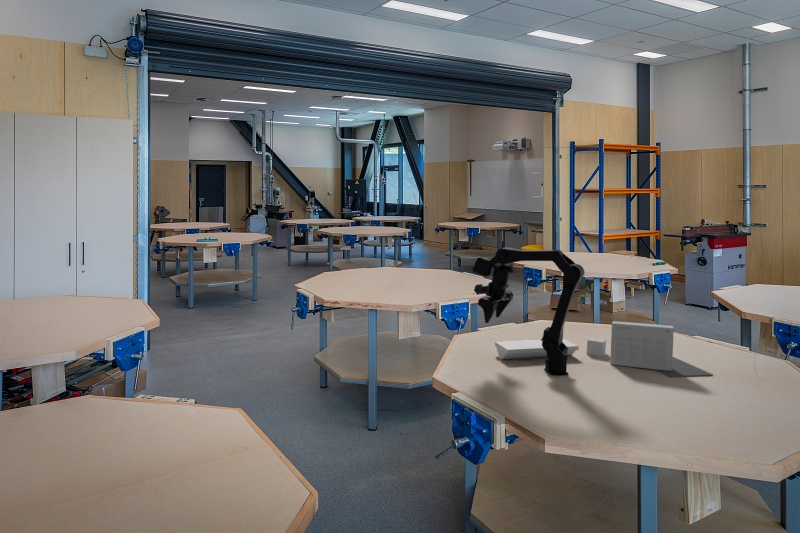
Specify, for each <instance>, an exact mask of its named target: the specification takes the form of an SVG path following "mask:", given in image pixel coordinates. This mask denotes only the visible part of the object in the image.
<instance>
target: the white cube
mask: <svg viewBox="0 0 800 533" xmlns="http://www.w3.org/2000/svg"><path fill="white" fill-rule="evenodd" d="M586 343H587V344H586V355H588V356H592V357H593V356H594V357H600V358H602V357H604V355H605V354H606V348H607V339H606V338H601V337H600V338H599V337H593V336H591V337H589V338H588V339H587V342H586Z"/></svg>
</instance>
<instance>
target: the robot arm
mask: <svg viewBox="0 0 800 533" xmlns="http://www.w3.org/2000/svg"><path fill="white" fill-rule="evenodd" d="M518 262H553V263H554V264H555V266H556V267H557V269H558V270H559V271H560V272H562V273H563V276H562V289H561V293H560V296H559V300H558V302H557V303H558V304H557V306H556V309H555V312H554V315H553V320H552V323H551V325H550V326H548V327H546V328H545V329H544V330H543V334H542V337H541V339H540V340H541V341H542V347H543V348H544V350H545V351H546V353H547V357H546V358H545V360H544V361H545V364H544V371H545V372H546V373H548V374H550V375H551V376H559V375H564V376H565V375H569V372H568V371H567V369H568V368H567V366H568V365H567V364H568V355H567V356H566V355H565V354H566V353H567V351H568V348H567V346H566V345H565V344H564V343H563V342H562V341H563V339H564V326H565V322H566V319H567V316H568V313H569V310H570V308H571V304H572V301H573V298H574V294H575V291H576V290H577V288H578V287H579V285H580V283H581V282H582V279H583V278H584V277H585V269H584V267H583V266H582V265H581V264H579V263H575V261H573V260H572V259H571V258H570V257H568V255H566V254H565V253H564V252H563V251H562V250H560V249H549V250H547V249H546V250H544V249H543V250H542V249H540V250H538V249H537V250H530V249H529V250H527V249H526V250H523V249H519V248H514V247H509V246H508V247H502V248H499V249H498V250H496V252H495V256H493V257H492V258H491V259H488V258H485V257H482V256H477V258H476V260H475V262H474V264H473V266H472V274H473V275H476V276H481V277H485V278H487V279H488V278H489V277H492V279H491V281H490V282H488V283H482V284H481V283H480V284H475V286H474V289H473V291H474V293H475V294H476V296H477V295H484V294H485V296H482V297H480V298H479V299H478V301H477V305H478V306H479V307H481V308H482V311H483V314H484V315H483V316H484V323H485V324H489V322H490V321H491V319H492V318H493V316H494V314H495V318H499V317H500V316H501V315H502V313H503V312H504V311H505V309H506V308H507V307H508V306H509V304H510V303H511V302H512V300H513V298H514V293H513V292H512V291H510V290H508V288H509V286H510V284H508V283H509V277H510V274H513V273H515V272H516V270H517V269H516V268H515V267H514V266H513V264H512V263H518ZM497 264H500V265H497ZM507 264H510V265H507Z"/></svg>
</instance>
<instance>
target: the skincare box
mask: <svg viewBox="0 0 800 533" xmlns="http://www.w3.org/2000/svg"><path fill="white" fill-rule="evenodd" d="M674 330H675V329H674V325H666V324H665V325H664V324H654V323H652V324H651V323H642V322H640V323H639V322H629V321H627V322H626V321H615V320H613V321H612V323H611V340H610V365H613V366H621V367H622V366H623V367H630V368H640V369H650V370H655V369H657V370H666V371H672V357H674V356H673V354H674V352H673V351H674ZM657 370H656V371H657Z"/></svg>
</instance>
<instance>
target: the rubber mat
mask: <svg viewBox="0 0 800 533" xmlns="http://www.w3.org/2000/svg"><path fill="white" fill-rule="evenodd" d="M654 370H655V371H657V372H660V373H661V374H663V375H665V376H668V377H669V378H686V377H687V378H688V377H689V378H690V377H710V376H711V377H712V376H714V374H713V373H711V372H709V371H706V370H704V369H701V368H700V367H697V366H695V365H692V364H690V363H687V362H686V361H684V360H681V359H679V358H677V357H674V356H673V357H672V371H666V370H657V369H654Z"/></svg>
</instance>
